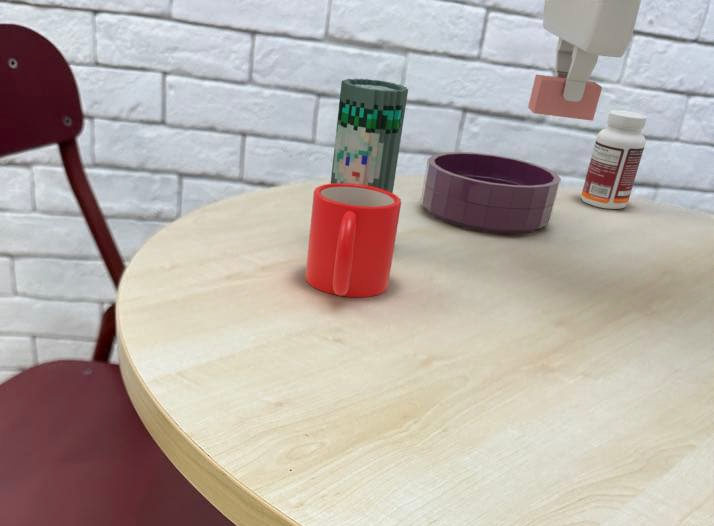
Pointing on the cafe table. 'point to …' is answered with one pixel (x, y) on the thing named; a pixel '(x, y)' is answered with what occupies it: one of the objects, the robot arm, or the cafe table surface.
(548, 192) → the bowl
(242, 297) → the cafe table surface
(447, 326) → the cafe table surface
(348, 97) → the can
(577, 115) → the eraser
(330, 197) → the mug
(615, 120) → the pill bottle
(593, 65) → the robot arm
